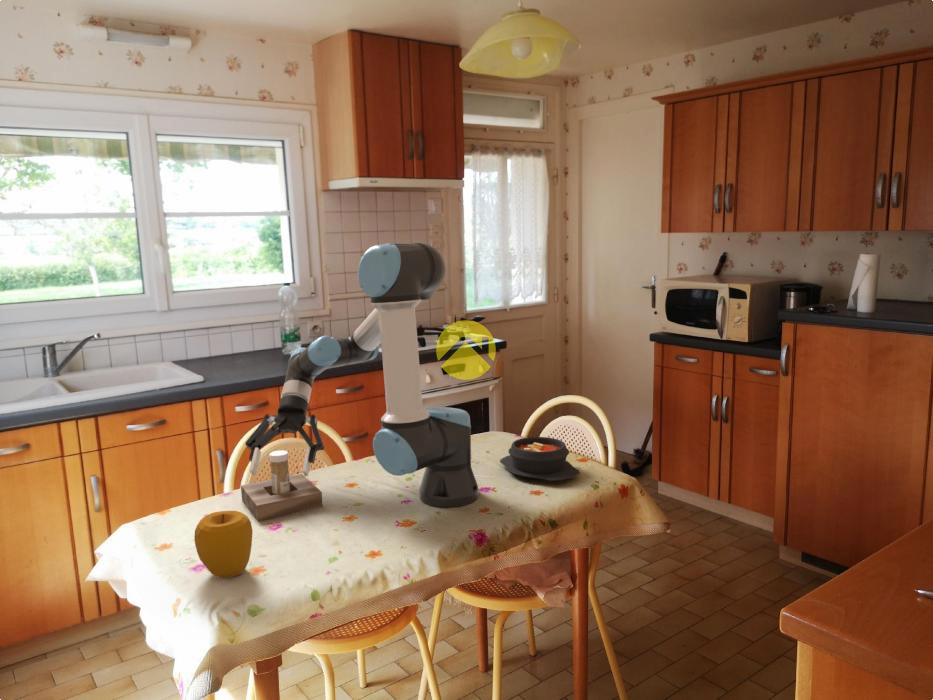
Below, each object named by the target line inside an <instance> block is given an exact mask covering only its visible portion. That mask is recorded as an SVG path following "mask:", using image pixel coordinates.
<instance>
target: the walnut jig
mask: <svg viewBox="0 0 933 700" xmlns="http://www.w3.org/2000/svg"><path fill="white" fill-rule="evenodd" d="M289 483H290V492H287V493H282V494H277V495H273V493H272V481H271V479H268V480H263V481H256V482H252V483H248V484H241V485H240V494H241V501H242V502H243V504H244V505H245V507H246V508H247V509H248V510H249V512H250V513H251V514H252V516H253V517H254V518H255V520H256V521H257V522H261V521H263V522H264V521H266V520H270V519H275V518H280V516H281V517H285V516H289V514H290V515H293V513H294V514H297V512H299V513H303V512H307V510H308V511H312V510H316V509H315V508H317V509H320V508H319V507H322V508H323V506H324V505H323V493H322V491H321V490H320V489H319V488H318V487H317V486H316V485H315V484H313V483H312V481H310V480H309V479H308V477H307V476H305V475H304V474H303V473H300V474H299V473H298V474H293V475H289ZM311 509H312V510H311ZM302 511H303V512H302Z"/></svg>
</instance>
